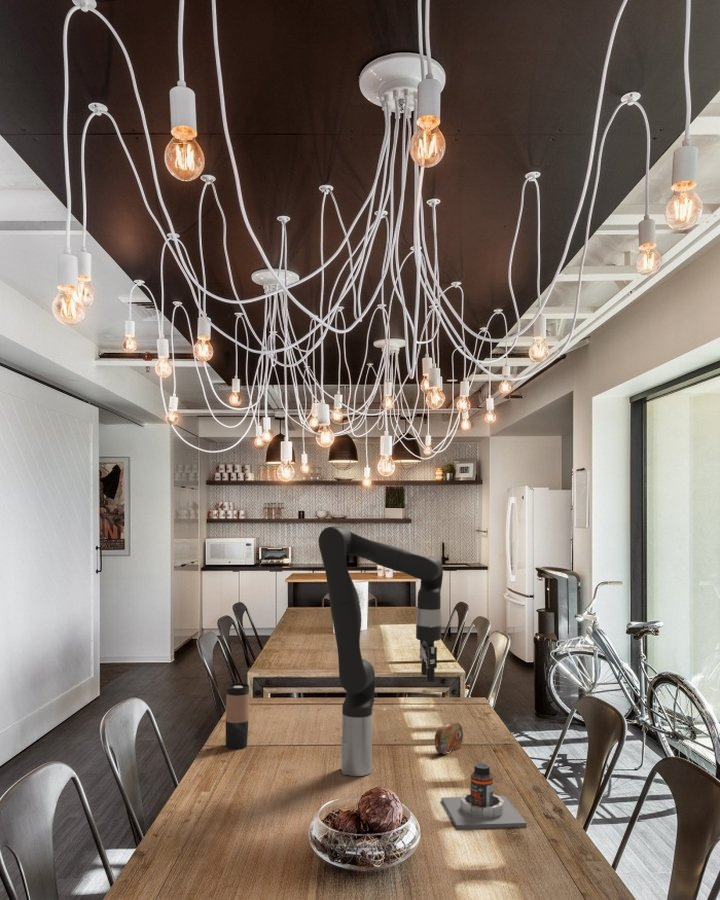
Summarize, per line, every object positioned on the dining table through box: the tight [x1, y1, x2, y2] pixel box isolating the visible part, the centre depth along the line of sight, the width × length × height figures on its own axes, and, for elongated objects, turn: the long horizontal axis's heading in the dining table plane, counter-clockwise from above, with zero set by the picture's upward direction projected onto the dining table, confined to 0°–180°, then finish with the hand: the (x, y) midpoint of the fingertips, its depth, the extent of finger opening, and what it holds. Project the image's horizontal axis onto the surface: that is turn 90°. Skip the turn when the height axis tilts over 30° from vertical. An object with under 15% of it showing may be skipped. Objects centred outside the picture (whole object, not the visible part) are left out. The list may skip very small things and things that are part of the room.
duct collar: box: [460, 791, 504, 818], centre depth 193 cm, size 11×11×2 cm
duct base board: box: [440, 795, 528, 830], centre depth 193 cm, size 18×18×1 cm
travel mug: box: [225, 682, 250, 750], centre depth 247 cm, size 8×8×20 cm
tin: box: [434, 722, 464, 755], centre depth 245 cm, size 15×3×8 cm, turn 143°
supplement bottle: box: [470, 762, 494, 807], centre depth 193 cm, size 6×6×11 cm
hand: (427, 678), depth 219 cm, fingers open, 8 cm apart
